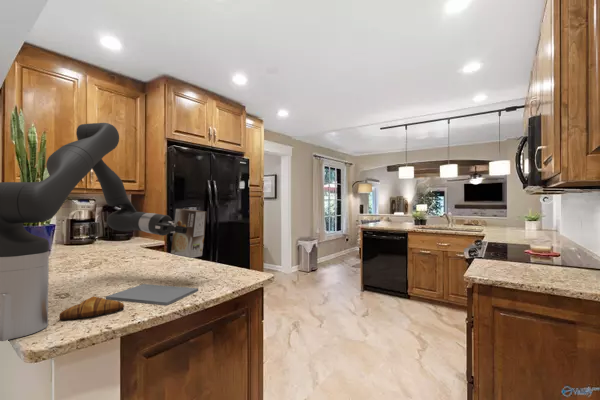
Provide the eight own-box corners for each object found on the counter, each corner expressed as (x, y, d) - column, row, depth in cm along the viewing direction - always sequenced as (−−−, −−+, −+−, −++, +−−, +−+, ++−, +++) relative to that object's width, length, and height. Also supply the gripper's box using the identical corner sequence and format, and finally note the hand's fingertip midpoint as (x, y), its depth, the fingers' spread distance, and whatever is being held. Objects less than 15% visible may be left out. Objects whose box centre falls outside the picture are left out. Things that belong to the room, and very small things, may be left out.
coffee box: (203, 255, 102) (208, 211, 102) (190, 258, 96) (196, 211, 96) (182, 251, 105) (187, 208, 105) (169, 253, 99) (175, 208, 99)
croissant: (124, 306, 79) (124, 288, 79) (123, 314, 73) (123, 295, 73) (62, 316, 72) (62, 296, 72) (55, 326, 66) (55, 304, 66)
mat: (166, 305, 79) (166, 302, 79) (105, 299, 85) (105, 296, 85) (198, 290, 92) (198, 288, 92) (143, 286, 98) (143, 283, 98)
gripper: (140, 213, 98) (179, 219, 93) (171, 213, 112) (206, 219, 107) (138, 235, 98) (176, 242, 93) (169, 232, 112) (204, 239, 107)
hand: (192, 230), depth 100 cm, fingers closed on coffee box, 6 cm apart
